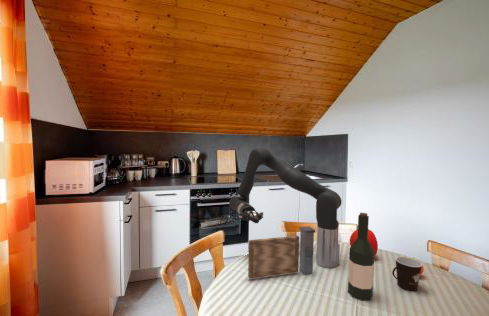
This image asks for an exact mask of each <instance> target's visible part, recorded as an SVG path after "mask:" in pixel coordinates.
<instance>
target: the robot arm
mask: <svg viewBox="0 0 489 316" xmlns="http://www.w3.org/2000/svg"><path fill="white" fill-rule="evenodd" d="M260 166H265V167H267V168H269V169H271V170H272V171H273V172H274V173H275V174H276V175H277V177H278V178H279V180H281V182H283V183H284V184H286V185H287V186H288V187H290V188H291V189H294V190H296V191H297V192H301V193H303V194H307V195H309V196H310V197H312V198H314V199H315V200H316V202H315V203H316V204H315V219H316V222H317V223H316V224H317V225H316V228H317V229H316V255H315V256H316V257H315V259H316V260H315V262H316V264H317V265H318V266H319V267H323V268H329V269H333V268H336V267H337V266H339V265H340V250H341V246H340V245H341V244H340V243H339V225H340V224H339V221H338V209H339V208H340V207H341V206H342V198H341V196H340V194H339V193H338V192H336V191H334V190H332V189H331V188H328V187H326V186H324V185H322V184H320V183H318V182H317V181H315V179H313V178H311V177H310V176H308V175H307V174H305V173H304V172H302V171H301V170H299V169H297V168H296V167H294V166H293V165H290V164H289V163H287V162H286V161H284V160H283V159H281V158H279V157H278V156H276V155H275V154H274V153H272V152H271V151H270V150H268V148H265V147H264V148H263V147H260V148H254V149H252V150H251V151H250V153H249V156H248V160H247V163H246V167H245V171H244V173H243V178H242V180H241V181H240V184H239V187H238V188H237V192H236V193H237V194H238V195H239V196H232V197H231V198H230V199H229V201H228V202H229V203H228V205H229V207H230V209H232V210H234V211H235V212H237V213H238V220H241V221H245V222H253V223H254V224H259V223H260V221H261V220H263V218H264V212H262V211H261V212H258V211H257V210H256V209H255V207H253V206H252V204H250V203H248V202H249V196H250V194H251V192H252V189H253V187H254V183H255V175H256V172H257V170H258V168H259V167H260Z"/></svg>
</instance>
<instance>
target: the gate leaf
mask: <svg viewBox="0 0 489 316" xmlns="http://www.w3.org/2000/svg"><path fill="white" fill-rule="evenodd" d="M247 264H248V267H247V268H248V271H247V272H248V273H247V274H248V277H247V278H248V279H249V280H250V279H251V280H252V279H257V278H264V277H271V276H272V277H273V276H278V275H286V274H287V275H288V274H293V273H299V265H300V235H289V236H280V237H278V236H277V237H268V238H258V239H249V240H248V263H247Z"/></svg>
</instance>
